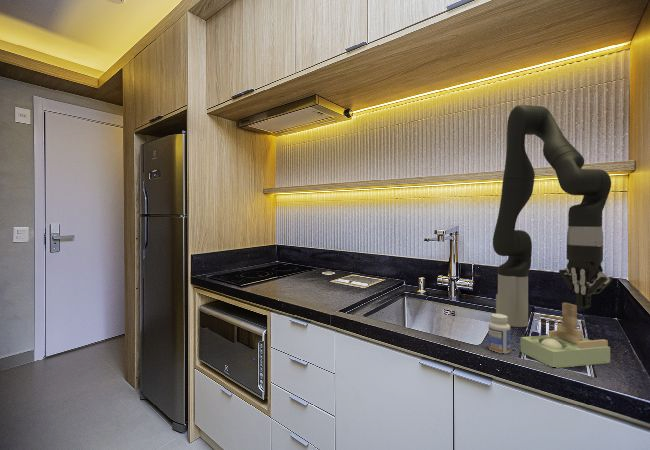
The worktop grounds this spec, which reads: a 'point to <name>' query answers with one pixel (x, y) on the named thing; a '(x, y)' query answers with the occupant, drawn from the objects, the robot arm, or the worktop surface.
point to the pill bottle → (499, 334)
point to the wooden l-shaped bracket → (569, 324)
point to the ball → (551, 343)
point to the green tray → (566, 351)
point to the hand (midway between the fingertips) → (583, 307)
